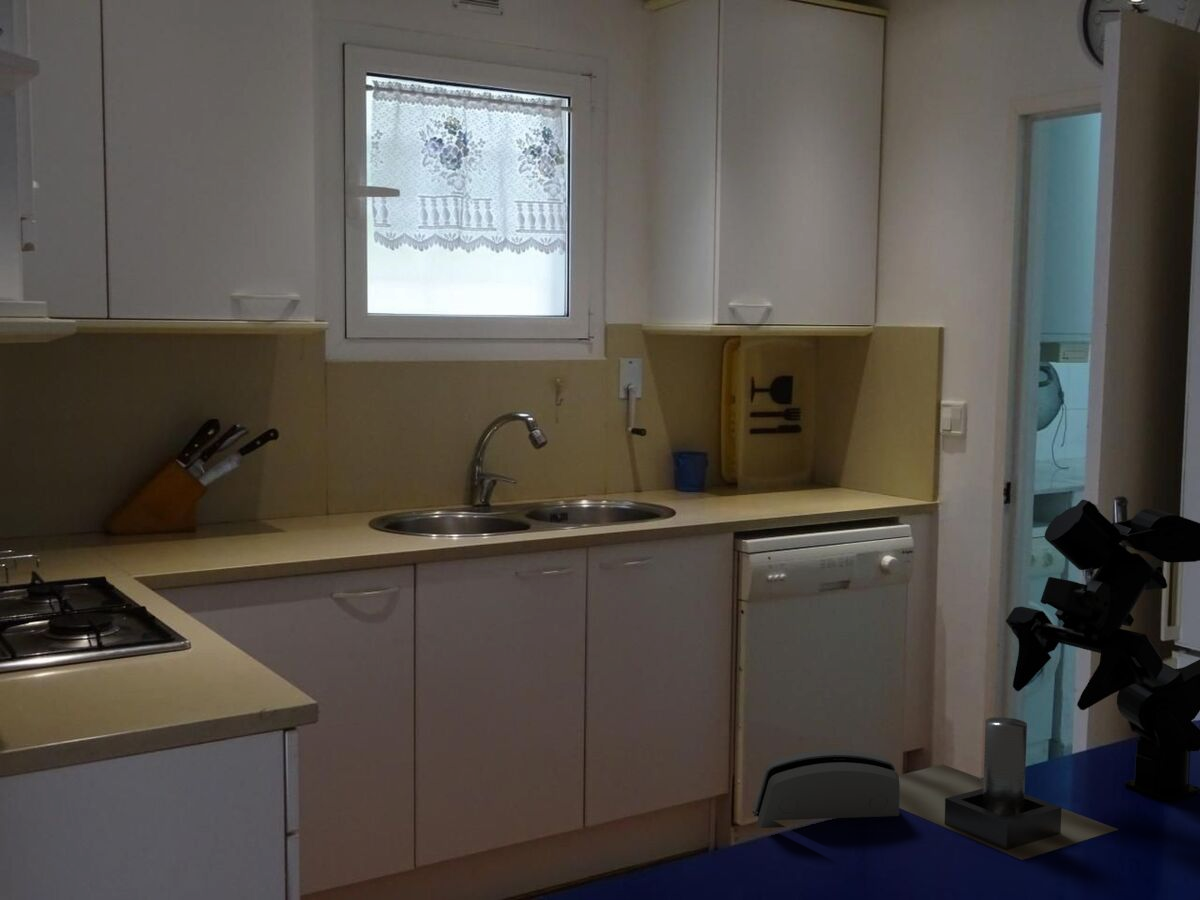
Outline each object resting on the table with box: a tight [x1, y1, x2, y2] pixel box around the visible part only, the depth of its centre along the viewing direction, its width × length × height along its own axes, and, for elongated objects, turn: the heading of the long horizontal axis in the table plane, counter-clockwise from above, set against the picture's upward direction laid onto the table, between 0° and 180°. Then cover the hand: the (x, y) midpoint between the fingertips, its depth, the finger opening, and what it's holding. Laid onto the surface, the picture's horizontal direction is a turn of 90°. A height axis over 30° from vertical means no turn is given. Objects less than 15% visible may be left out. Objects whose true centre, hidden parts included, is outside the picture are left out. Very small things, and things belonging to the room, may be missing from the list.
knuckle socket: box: [945, 788, 1063, 850], centre depth 150 cm, size 9×9×3 cm
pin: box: [983, 716, 1028, 817], centre depth 149 cm, size 4×4×12 cm
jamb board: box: [898, 763, 1120, 861], centre depth 157 cm, size 16×26×1 cm, turn 33°
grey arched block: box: [752, 749, 900, 829], centre depth 154 cm, size 17×5×10 cm, turn 96°
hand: (1046, 698), depth 157 cm, fingers open, 9 cm apart
